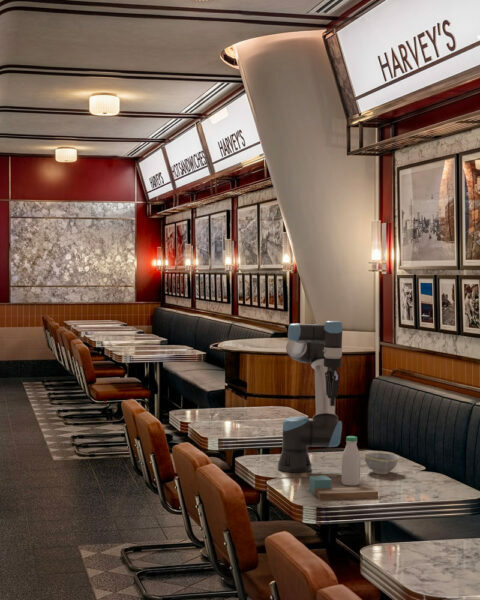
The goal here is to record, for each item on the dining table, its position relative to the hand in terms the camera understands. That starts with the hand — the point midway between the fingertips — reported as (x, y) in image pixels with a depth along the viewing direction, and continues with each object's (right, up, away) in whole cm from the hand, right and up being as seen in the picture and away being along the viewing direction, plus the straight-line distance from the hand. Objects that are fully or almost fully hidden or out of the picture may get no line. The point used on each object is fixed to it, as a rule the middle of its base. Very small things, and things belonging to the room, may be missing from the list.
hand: (331, 413), depth 373 cm
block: (-6, -30, -17) cm, 35 cm away
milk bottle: (+8, -30, -1) cm, 31 cm away
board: (+3, -30, -23) cm, 38 cm away
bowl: (+24, -30, +22) cm, 44 cm away
